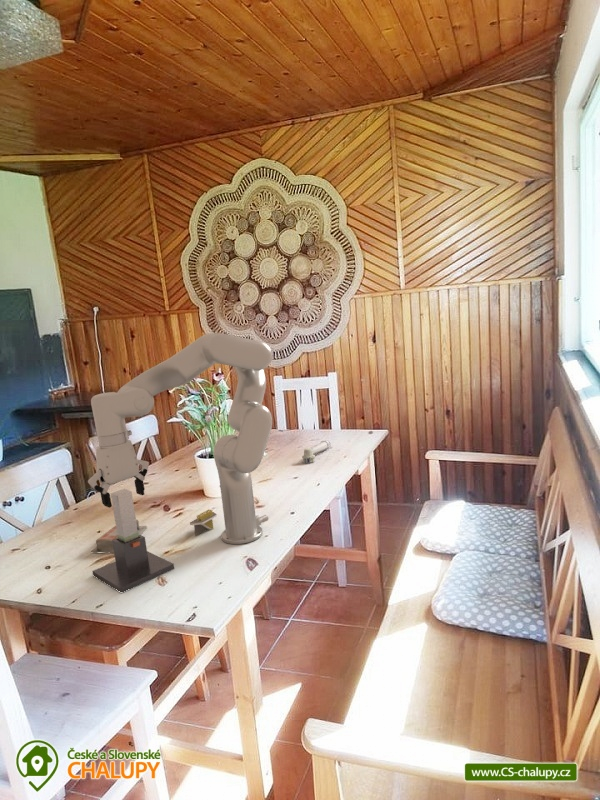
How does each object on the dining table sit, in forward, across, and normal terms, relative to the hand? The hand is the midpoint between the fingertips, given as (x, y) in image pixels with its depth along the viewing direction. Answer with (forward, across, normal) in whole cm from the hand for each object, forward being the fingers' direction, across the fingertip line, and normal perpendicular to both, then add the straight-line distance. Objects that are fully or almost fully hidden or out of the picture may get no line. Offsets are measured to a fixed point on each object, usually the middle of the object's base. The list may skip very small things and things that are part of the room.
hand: (124, 500), depth 155 cm
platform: (+22, -28, -6) cm, 36 cm away
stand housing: (+21, +1, 0) cm, 21 cm away
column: (+14, +1, 0) cm, 14 cm away
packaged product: (+22, -8, -24) cm, 33 cm away
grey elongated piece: (+24, -107, -33) cm, 115 cm away
